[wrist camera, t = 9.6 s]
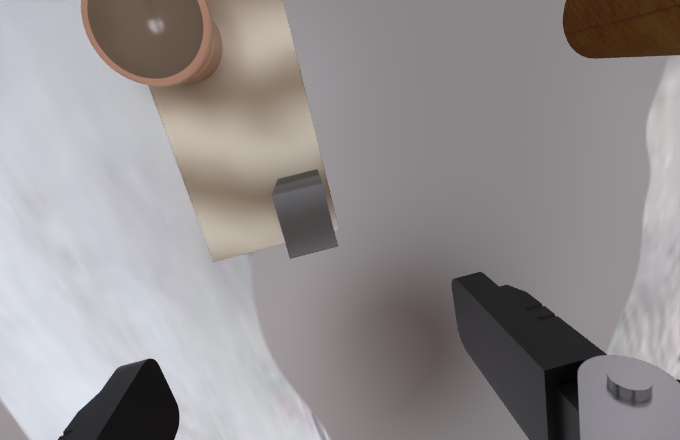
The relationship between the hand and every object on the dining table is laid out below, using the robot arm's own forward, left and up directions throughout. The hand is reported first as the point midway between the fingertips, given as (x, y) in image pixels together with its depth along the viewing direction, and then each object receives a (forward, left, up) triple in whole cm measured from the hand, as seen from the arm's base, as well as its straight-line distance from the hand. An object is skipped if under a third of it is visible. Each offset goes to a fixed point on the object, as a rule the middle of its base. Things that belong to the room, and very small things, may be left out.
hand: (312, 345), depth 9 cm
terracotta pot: (-12, -5, -18) cm, 22 cm away
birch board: (-9, -3, -19) cm, 21 cm away
